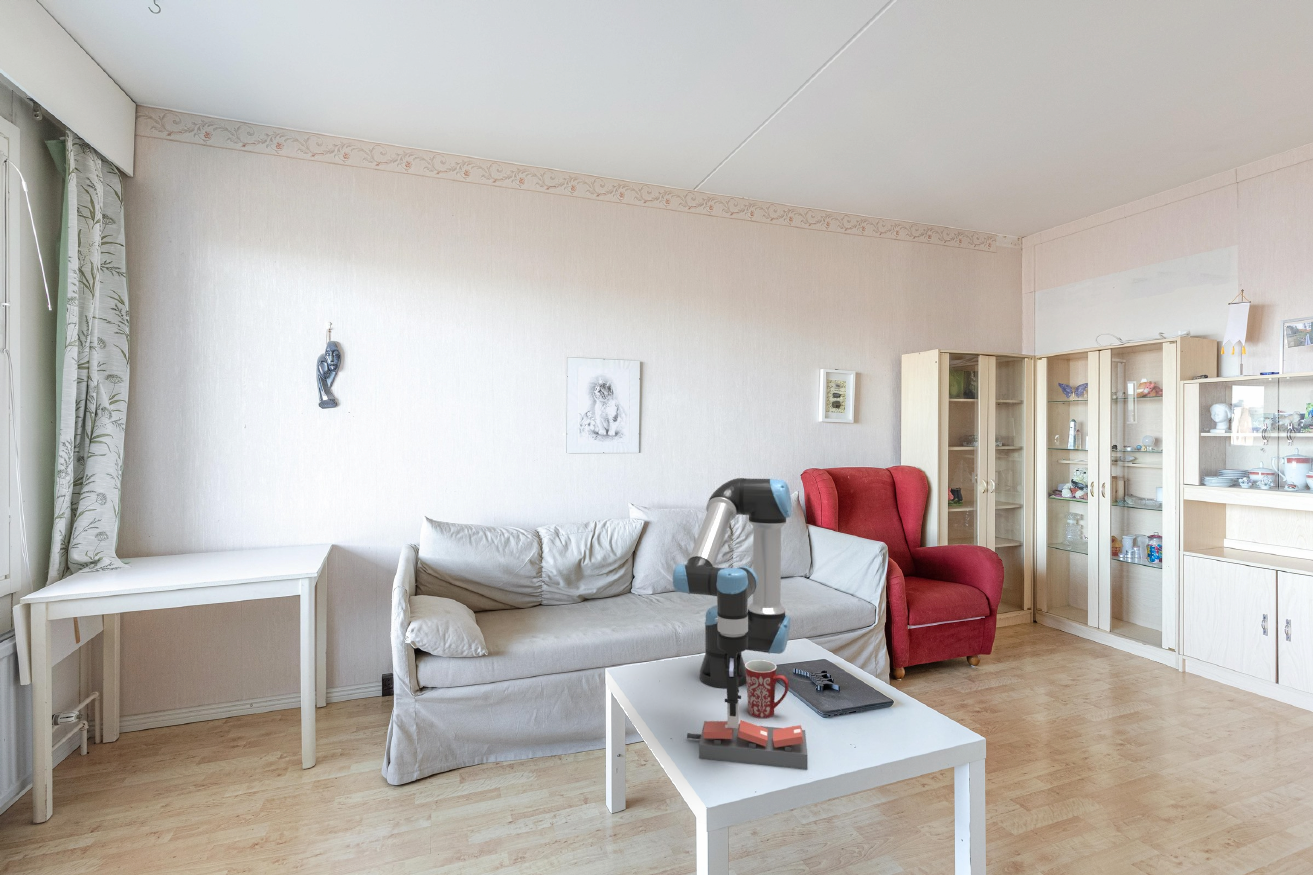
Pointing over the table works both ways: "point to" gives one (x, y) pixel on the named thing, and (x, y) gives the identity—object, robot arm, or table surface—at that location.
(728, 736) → the rocker
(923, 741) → the table surface
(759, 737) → the red box
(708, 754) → the power strip
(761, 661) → the mug
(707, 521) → the robot arm
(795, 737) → the block
